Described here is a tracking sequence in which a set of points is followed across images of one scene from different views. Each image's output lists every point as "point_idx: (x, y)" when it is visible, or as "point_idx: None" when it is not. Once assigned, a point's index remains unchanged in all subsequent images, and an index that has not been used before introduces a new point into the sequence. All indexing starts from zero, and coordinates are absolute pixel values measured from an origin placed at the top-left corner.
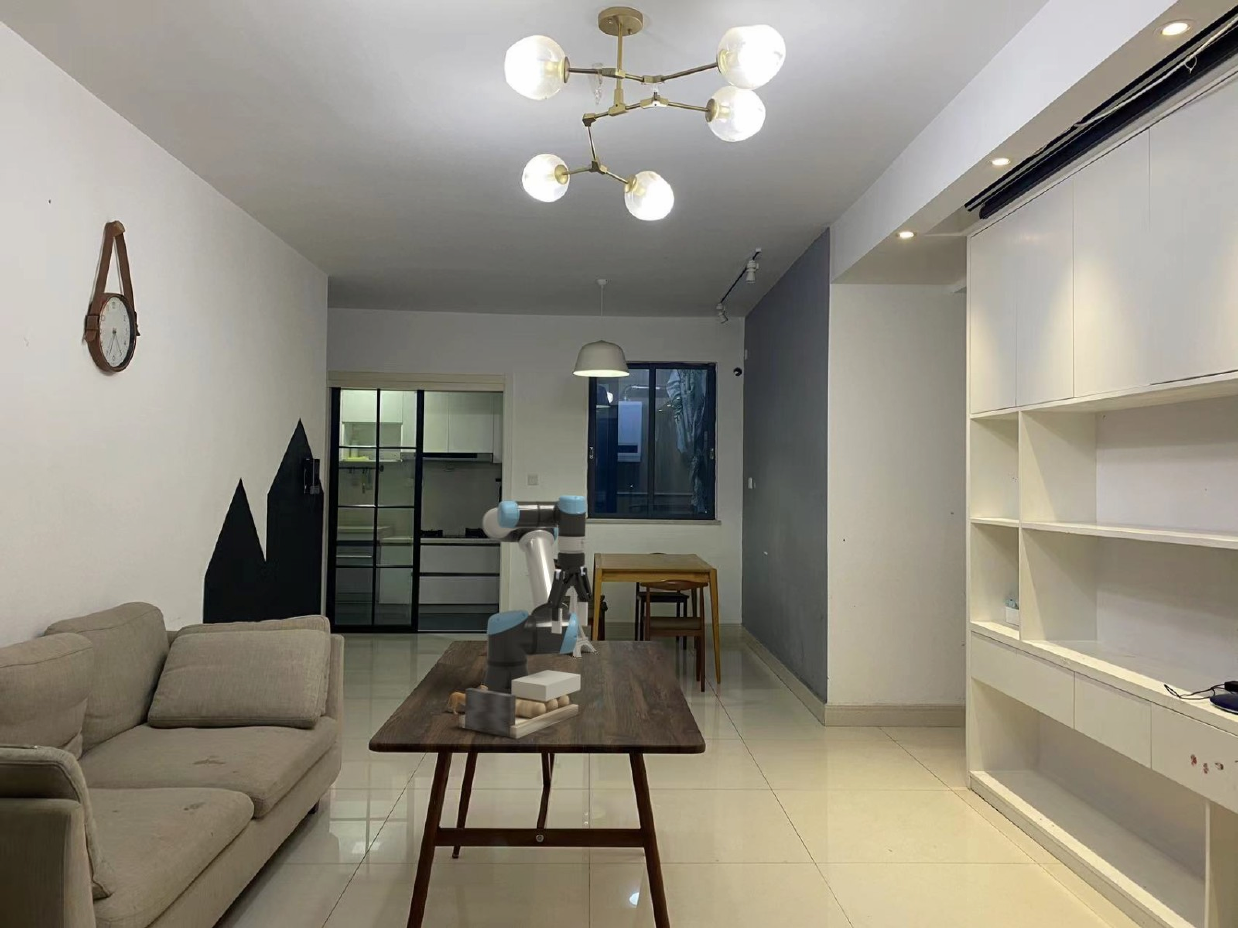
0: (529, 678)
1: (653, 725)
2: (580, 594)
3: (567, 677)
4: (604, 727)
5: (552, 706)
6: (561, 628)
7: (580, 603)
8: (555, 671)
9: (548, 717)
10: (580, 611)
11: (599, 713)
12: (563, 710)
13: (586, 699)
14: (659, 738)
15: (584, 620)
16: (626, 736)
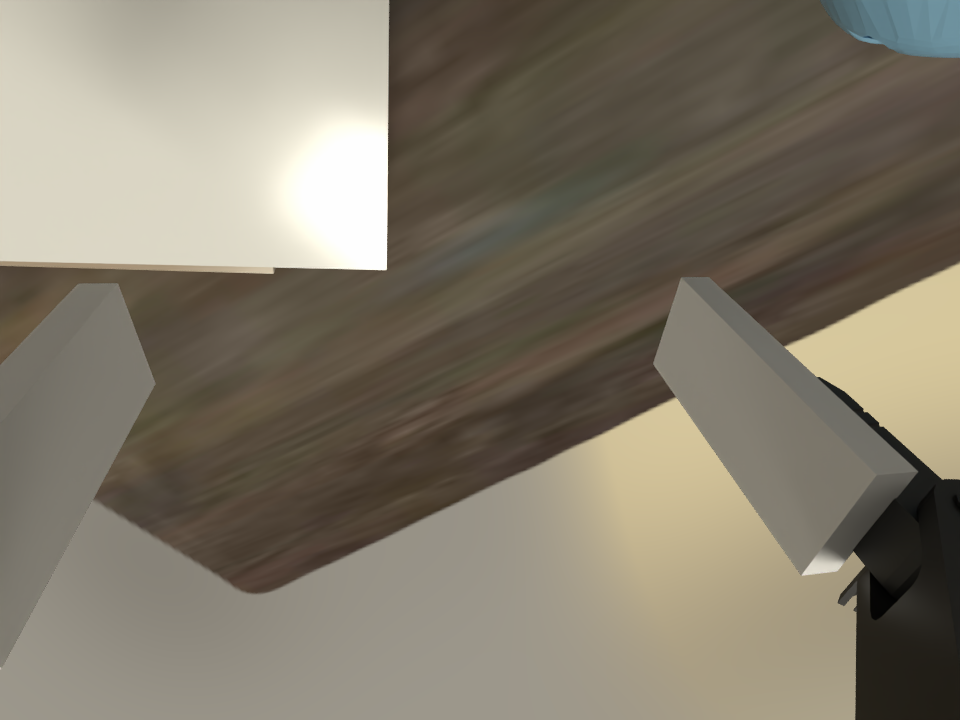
0: (29, 27)
1: (328, 489)
2: (904, 685)
3: (271, 248)
4: (203, 408)
5: None
6: (130, 421)
7: (838, 491)
8: (376, 78)
9: (8, 263)
10: (757, 406)
11: (352, 311)
12: (144, 269)
13: (534, 151)
14: (225, 546)
15: (685, 382)
16: (172, 491)
